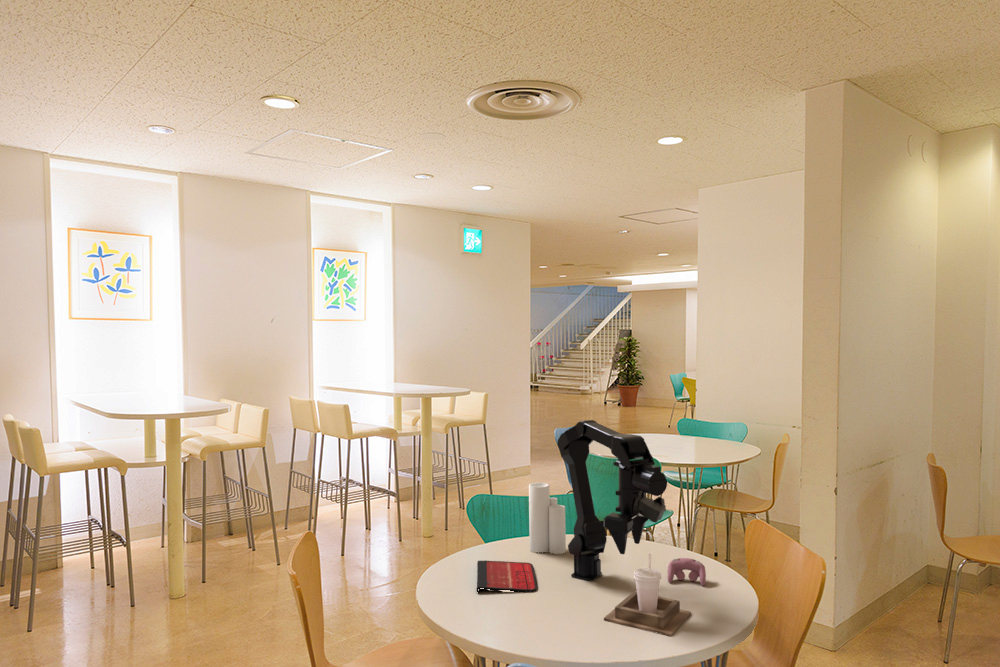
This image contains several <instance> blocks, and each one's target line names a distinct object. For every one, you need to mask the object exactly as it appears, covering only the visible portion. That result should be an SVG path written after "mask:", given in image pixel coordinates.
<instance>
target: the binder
mask: <svg viewBox="0 0 1000 667" xmlns="http://www.w3.org/2000/svg"><path fill="white" fill-rule="evenodd" d="M476 569H477V570H476V573H477V575H476V577H477V578H476V579H477V580H476V593H477V592H478V589H480V588H484V589H490V590H510V591H514V592H523V593H535V592H537V591H538V585H537V579H536V578H537V577H536V573H535V569H534V565H533V564H532V563H531V562H520V561H519V562H518V561H501V560H500V561H499V560H477V568H476ZM536 590H537V591H536ZM534 591H535V592H534Z"/></svg>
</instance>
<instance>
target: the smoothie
mask: <svg viewBox="0 0 1000 667" xmlns="http://www.w3.org/2000/svg"><path fill="white" fill-rule="evenodd" d="M633 578H634V579H635V587H636V592H637V596H638V604H639V610H640V611H644V612H648V613H653V614H656V610H657V601H658V596H659V591H660V584H661V580H662V578H663V577H662V573H661V572H660V571H659V570H657V569H653V568H652V554H650V553H649V554H648V567H647V568H637V569H635V570H634V571H633Z"/></svg>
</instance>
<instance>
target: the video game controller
mask: <svg viewBox="0 0 1000 667" xmlns="http://www.w3.org/2000/svg"><path fill="white" fill-rule="evenodd" d="M684 570H685V571H690V572H689V574H688V576H687V577H688V579H689V580H690V582H693V581H694V582H696V581H697V580H698V579H699V581H700V586H702V587H704V586H705V585H706V582H707V581H706V579H707V576H706V575H707V573H706V567H705V565H704V564H703V563H702V562H701V561H700V560H696V559H693V558H689V557H680V558H674V559H672V560H671V561H669V563H668V566H667V574H666V575H667V582H668V583H669V584H671V583H673V580H674V578H675V576H676V579H677V580H679V581H684V580H685V578H686V574H685V572H684ZM683 579H684V580H683Z"/></svg>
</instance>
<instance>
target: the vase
mask: <svg viewBox="0 0 1000 667" xmlns="http://www.w3.org/2000/svg"><path fill="white" fill-rule="evenodd" d="M550 490H551V489H550V484H549V483H546V482H531V483H529V484H528V512H529V513H528V514H529V515H528V518H529V519H528V521H529V525H528V526H529V532H528V534H529V551H530V552H531V551H532V552H531V553H534V552H538V553H537V554H540V553H539V552H542V553H541V554H544V553H543V552H546V553H550V552H551V553H550V554H552V553H554V554H553V555H563V553H564V554H566V553H565V552H567V551H566V546H567V544H566V542H567V539H566V536H567V535H566V506H565V505H563V504H558V498H557V497H554V496H552V497H551V496H550V493H551V492H550ZM548 551H549V552H548Z"/></svg>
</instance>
